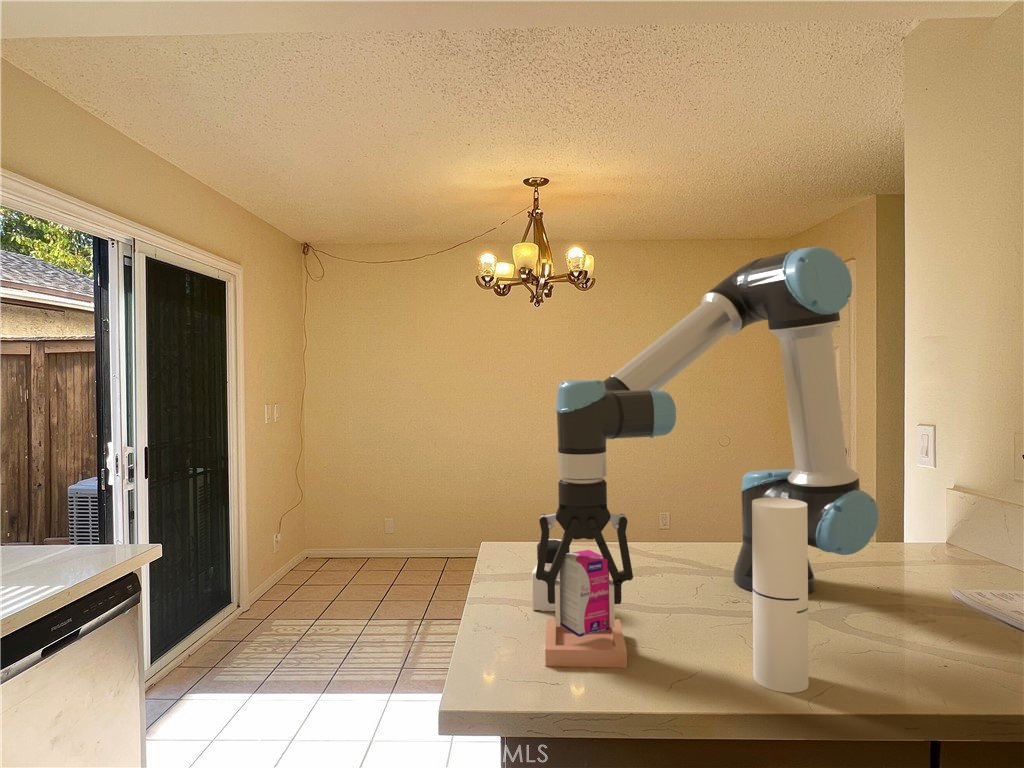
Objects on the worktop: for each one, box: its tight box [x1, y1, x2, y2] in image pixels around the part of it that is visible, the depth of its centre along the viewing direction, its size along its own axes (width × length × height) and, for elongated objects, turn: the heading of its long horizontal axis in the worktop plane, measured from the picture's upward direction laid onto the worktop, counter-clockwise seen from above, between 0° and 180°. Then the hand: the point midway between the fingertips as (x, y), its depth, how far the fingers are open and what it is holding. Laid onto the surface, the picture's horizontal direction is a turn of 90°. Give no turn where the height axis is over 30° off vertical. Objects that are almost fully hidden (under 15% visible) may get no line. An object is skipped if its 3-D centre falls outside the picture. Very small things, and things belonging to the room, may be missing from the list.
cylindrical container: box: [752, 498, 810, 694], centre depth 91 cm, size 7×7×25 cm
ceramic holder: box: [544, 618, 628, 669], centre depth 102 cm, size 12×12×2 cm
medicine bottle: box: [531, 538, 571, 612], centre depth 121 cm, size 7×7×12 cm
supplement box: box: [560, 549, 610, 637], centre depth 102 cm, size 6×6×12 cm
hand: (584, 623), depth 102 cm, fingers closed on supplement box, 8 cm apart
